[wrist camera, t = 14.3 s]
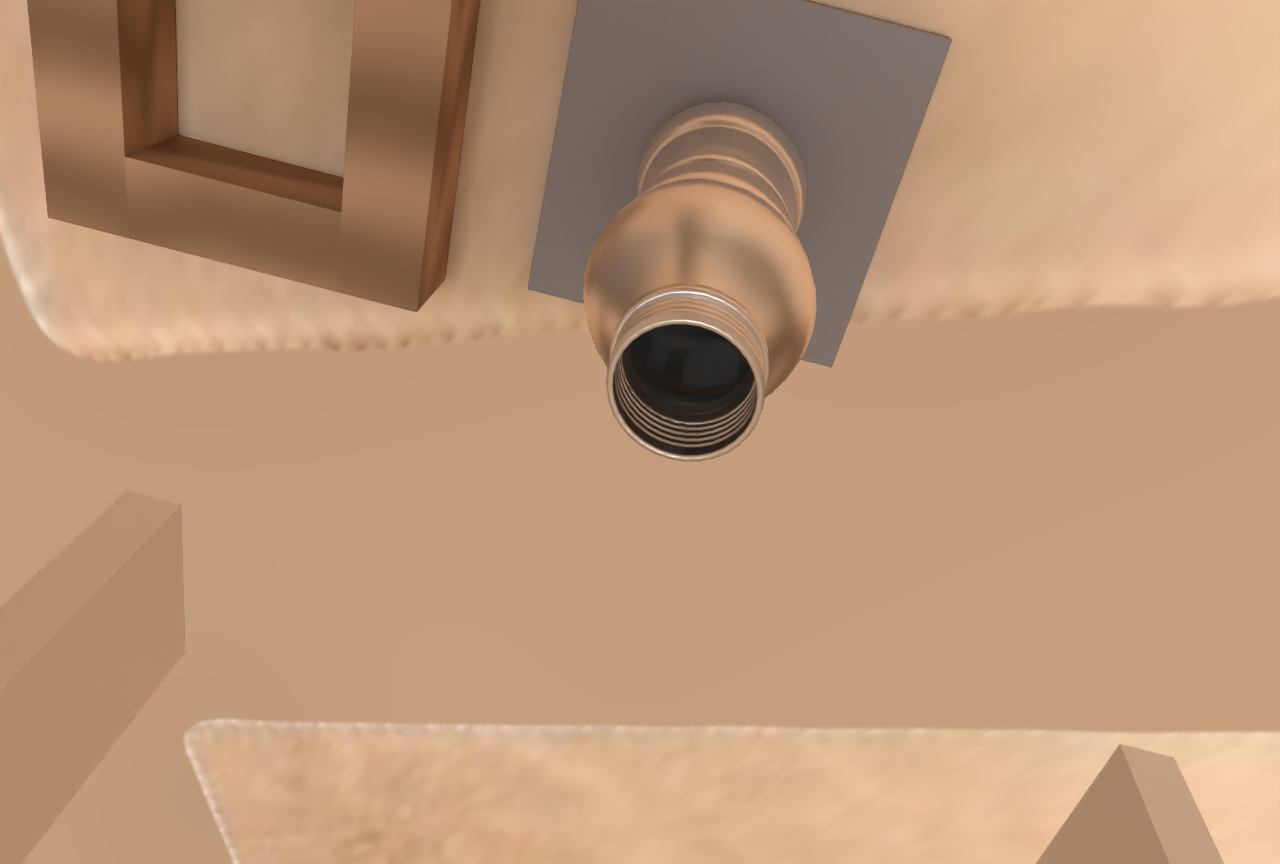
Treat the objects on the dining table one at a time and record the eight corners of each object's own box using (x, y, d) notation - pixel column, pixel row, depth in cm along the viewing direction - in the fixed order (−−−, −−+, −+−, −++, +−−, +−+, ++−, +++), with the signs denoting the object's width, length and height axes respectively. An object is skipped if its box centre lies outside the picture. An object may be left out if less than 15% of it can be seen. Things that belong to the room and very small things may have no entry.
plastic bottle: (700, 281, 41) (649, 556, 24) (612, 146, 39) (484, 342, 21) (834, 203, 39) (885, 444, 21) (749, 54, 37) (730, 191, 19)
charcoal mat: (592, -57, 36) (588, -56, 35) (947, 36, 36) (952, 39, 35) (532, 281, 43) (527, 289, 42) (830, 357, 43) (832, 367, 42)
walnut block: (79, -221, 36) (4, -234, 32) (494, -113, 36) (464, -114, 32) (105, 192, 44) (48, 217, 40) (444, 279, 44) (416, 312, 40)
